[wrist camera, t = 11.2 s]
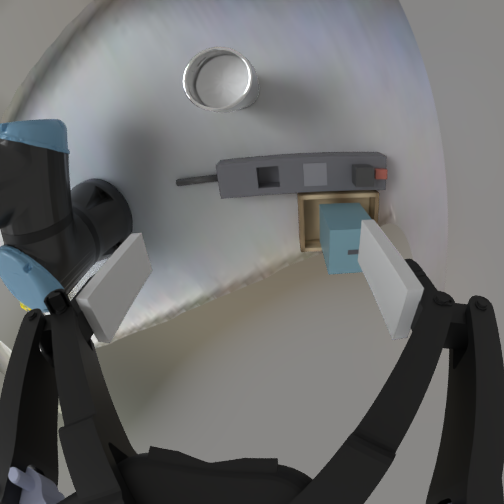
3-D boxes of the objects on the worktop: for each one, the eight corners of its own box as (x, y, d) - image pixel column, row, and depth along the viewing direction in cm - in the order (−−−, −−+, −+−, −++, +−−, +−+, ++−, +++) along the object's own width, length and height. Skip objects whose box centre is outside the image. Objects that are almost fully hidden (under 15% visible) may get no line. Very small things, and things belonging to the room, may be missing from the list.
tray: (299, 241, 45) (301, 252, 42) (297, 189, 41) (298, 195, 38) (369, 237, 44) (375, 247, 41) (372, 186, 40) (379, 193, 37)
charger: (317, 234, 44) (328, 274, 34) (316, 198, 41) (329, 230, 31) (353, 232, 43) (373, 271, 33) (354, 196, 40) (378, 228, 30)
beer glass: (207, 101, 36) (169, 99, 23) (226, 60, 32) (198, 36, 19) (250, 119, 37) (235, 124, 23) (270, 77, 33) (267, 59, 20)
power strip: (180, 196, 43) (167, 209, 38) (174, 167, 41) (159, 176, 36) (377, 183, 39) (391, 194, 34) (378, 152, 37) (392, 159, 32)
